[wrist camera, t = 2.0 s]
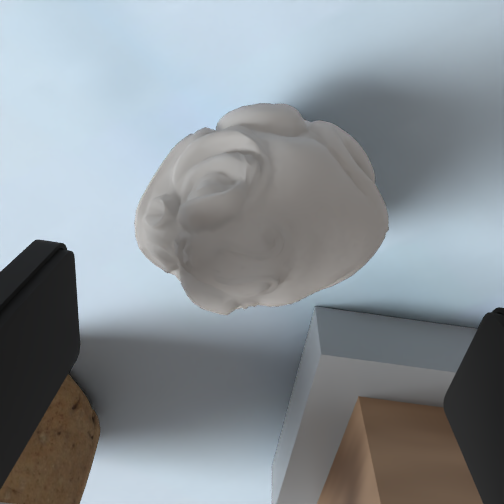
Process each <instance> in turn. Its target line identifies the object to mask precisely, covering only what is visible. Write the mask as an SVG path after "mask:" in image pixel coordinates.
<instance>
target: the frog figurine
mask: <svg viewBox="0 0 504 504" xmlns="http://www.w3.org/2000/svg"><path fill="white" fill-rule="evenodd" d="M134 224H135V236H136V240H137V243H138V246H139V249H140V250H141V251H142V253H143V254H144V255H145V257H146V258H148V259H149V260H150V261H151V262H152V263H153V264H155V265H156V266H158V267H159V268H161V269H162V270H164V271H165V272H166V273H170V274H173V275H175V276H176V277H177V278H178V279H179V281H180V282H181V285H182V287H183V288H184V290H185V292H186V294H187V296H188V297H189V298H190V300H191V301H192V302H193V303H194V304H196V305H197V306H199V307H200V308H202V309H204V310H208V311H211V312H214V313H218V314H222V315H228V314H230V313H231V312H232V311H234V310H235V309H240V308H243V309H246V308H247V307H248V306H253V307H255V306H257V305H261V306H269V307H272V306H276V307H278V306H283V305H287V304H292V303H294V302H298V301H300V300H301V299H303V298H306V297H307V296H309V295H311V294H313V293H315V292H318V291H320V290H322V289H325V288H328V287H331V286H333V285H335V284H337V283H339V282H341V281H343V280H345V279H347V278H349V277H351V276H352V275H353V274H355V273H356V272H357V271H358V270H359V269H361V268H362V267H363V266H364V265H365V264H366V263H367V262H368V261H369V260H370V259H371V258H372V256H373V255H374V254H375V253H376V251H377V250H378V248H379V247H380V245H381V244H382V242H383V240H384V238H385V235H386V232H387V231H388V230H389V227H388V213H387V209H386V205H385V202H384V200H383V198H382V196H381V194H380V192H379V190H378V188H377V186H376V185H375V173H374V170H373V167H372V165H371V162H370V160H369V158H368V156H367V154H366V153H365V151H364V150H363V149H362V147H361V146H360V145H359V143H358V142H357V141H356V140H355V139H354V138H353V137H352V136H351V135H350V134H348V133H347V132H345V131H344V130H342V129H341V128H339V127H338V126H336V125H334V124H332V123H329V122H325V121H321V120H317V121H312V122H310V121H307V120H304V119H303V117H302V116H301V114H300V113H299V111H298V110H297V109H295V108H294V107H291V106H289V105H287V104H269V103H259V104H254V105H248V106H242V107H240V108H237V109H235V110H233V111H230V112H228V113H227V114H226V115H224V116H223V117H222V118H221V119H220V120H219V122H218V123H217V126H216V130H213V129H209V128H206V127H204V128H202V129H200V130H198V131H197V132H195V133H194V134H189V135H188V136H187V137H185V138H184V139H183V140H181V141H180V142H179V143H177V145H176V146H175V147H174V148H173V149H172V150H171V151H170V153H169V154H168V155H167V157H166V158H165V160H164V161H163V162H162V164H161V165H160V167H159V168H158V170H157V172H156V173H155V175H154V176H153V178H152V180H151V181H150V183H149V185H148V187H147V188H146V190H145V192H144V194H143V195H142V197H141V199H140V202H139V204H138V207H137V210H136V215H135V223H134Z"/></svg>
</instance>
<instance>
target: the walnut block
mask: <svg viewBox="0 0 504 504" xmlns="http://www.w3.org/2000/svg"><path fill="white" fill-rule="evenodd" d="M317 504H483V502H482V500H481V497H480V495H479V492H478V490H477V488H476V485H475V483H474V481H473V478H472V476H471V474H470V471H469V469H468V466H467V464H466V462H465V459H464V457H463V455H462V452H461V450H460V447H459V445H458V443H457V440H456V438H455V436H454V433H453V431H452V429H451V426H450V424H449V421H448V419H447V417H446V414H445V412H444V408H443V407H435V406H428V405H420V404H413V403H405V402H397V401H390V400H382V399H375V398H367V397H360V396H358V399H357V402H356V404H355V407H354V409H353V412H352V415H351V417H350V420H349V422H348V425H347V427H346V430H345V433H344V435H343V438H342V440H341V443H340V446H339V448H338V451H337V453H336V456H335V458H334V461H333V464H332V466H331V469H330V471H329V474H328V477H327V479H326V482H325V484H324V487H323V489H322V492H321V495H320V497H319V500H318V502H317Z"/></svg>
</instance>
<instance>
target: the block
mask: <svg viewBox="0 0 504 504" xmlns="http://www.w3.org/2000/svg"><path fill="white" fill-rule="evenodd" d="M99 436H100V425H99V419H98V417H97V415H96V413H95V410H93V409H92V408H91V405H90V403H89V401H88V399H87V397H86V396H85V394H84V393H83V391H82V390H81V389H80V387H79V386H78V385H77V384H76V382H75V381H74V380H73V379H72V378H71V376H70V375H69V374H68V375H67V377H66V378H65V380H64V382H63V384H62V385H61V387H60V389H59V390H58V392H57V394H56V396H55V397H54V399H53V401H52V402H51V404H50V406H49V407H48V409H47V411H46V413H45V414H44V416H43V418H42V419H41V421H40V423H39V425H38V426H37V428H36V430H35V431H34V433H33V435H32V437H31V438H30V440H29V442H28V443H27V445H26V447H25V448H24V450H23V452H22V454H21V455H20V457H19V459H18V460H17V462H16V464H15V466H14V467H13V469H12V471H11V472H10V474H9V476H8V477H7V479H6V481H5V483H4V484H3V486H2V488H1V489H0V502H3V503H12V504H80V501H81V498H82V495H83V492H84V489H85V486H86V483H87V480H88V476H89V473H90V470H91V466H92V463H93V459H94V455H95V452H96V448H97V444H98V440H99Z"/></svg>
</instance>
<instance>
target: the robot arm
mask: <svg viewBox="0 0 504 504" xmlns="http://www.w3.org/2000/svg"><path fill="white" fill-rule="evenodd" d="M79 350H80V334H79V319H78V304H77V288H76V273H75V258H74V254H73V252H72V251H68V250H67V248H66V245H65V244H63V243H58V242H51V241H44V240H35V241H34V242H32V243H31V244H30V245H29V246H28V247H27V248H26V249H25V250H24V251H23V252H21V253H20V254H19V255H18V256H17V257H16V258H15V259H14V260H13V261H12V262H11V263H10V264H8V265H7V266H6V267H5V268H4V269H3V270H2V271H1V272H0V489H1V488H2V486H3V484H4V483H5V481H6V479H7V477H8V476H9V474H10V472H11V471H12V469H13V467H14V466H15V464H16V462H17V460H18V459H19V457H20V455H21V454H22V452H23V450H24V448H25V447H26V445H27V443H28V442H29V440H30V438H31V437H32V435H33V433H34V431H35V430H36V428H37V426H38V425H39V423H40V421H41V419H42V418H43V416H44V414H45V413H46V411H47V409H48V407H49V406H50V404H51V402H52V401H53V399H54V397H55V396H56V394H57V392H58V390H59V389H60V387H61V385H62V384H63V382H64V380H65V378H66V377H67V375H68V373H69V372H70V370H71V368H72V367H73V365H74V363H75V361H76V359H77V357H78V354H79ZM443 407H444V412H445V414H446V417H447V419H448V421H449V424H450V426H451V429H452V431H453V433H454V436H455V438H456V440H457V443H458V445H459V447H460V450H461V452H462V455H463V457H464V459H465V462H466V464H467V466H468V469H469V471H470V474H471V476H472V478H473V481H474V483H475V485H476V488H477V490H478V492H479V495H480V497H481V500H482V502H483V504H504V308H500V307H499V308H496V309H495V310H493V311H492V313H491V312H490V313H487V314H486V315H485V316H484V317H483V319H482V321H481V323H480V325H479V327H478V329H477V331H476V333H475V336H474V338H473V340H472V342H471V344H470V346H469V348H468V350H467V352H466V354H465V356H464V358H463V360H462V362H461V364H460V366H459V368H458V370H457V372H456V374H455V376H454V378H453V380H452V382H451V384H450V386H449V388H448V390H447V392H446V394H445V397H444V402H443ZM0 504H12V503H3V502H0Z"/></svg>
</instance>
